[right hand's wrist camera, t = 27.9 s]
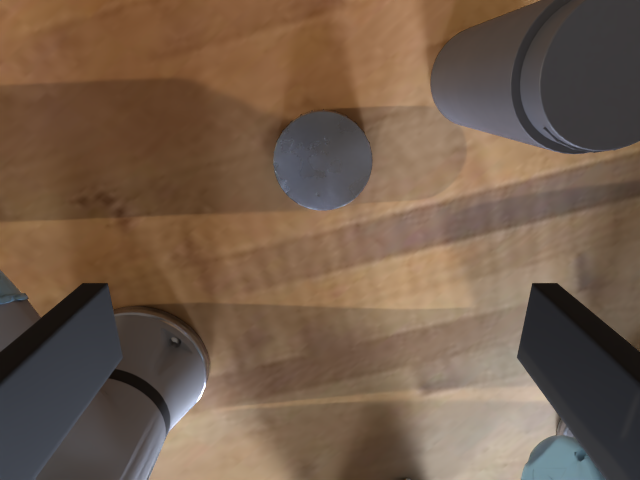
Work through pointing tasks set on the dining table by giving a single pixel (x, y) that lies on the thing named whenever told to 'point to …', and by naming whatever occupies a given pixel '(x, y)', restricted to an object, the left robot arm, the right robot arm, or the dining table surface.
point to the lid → (322, 160)
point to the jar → (547, 75)
